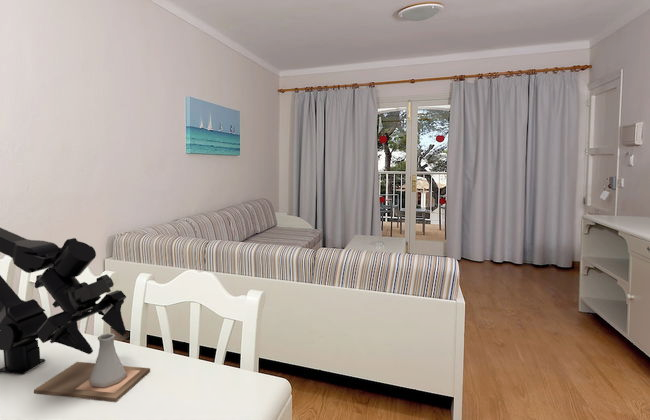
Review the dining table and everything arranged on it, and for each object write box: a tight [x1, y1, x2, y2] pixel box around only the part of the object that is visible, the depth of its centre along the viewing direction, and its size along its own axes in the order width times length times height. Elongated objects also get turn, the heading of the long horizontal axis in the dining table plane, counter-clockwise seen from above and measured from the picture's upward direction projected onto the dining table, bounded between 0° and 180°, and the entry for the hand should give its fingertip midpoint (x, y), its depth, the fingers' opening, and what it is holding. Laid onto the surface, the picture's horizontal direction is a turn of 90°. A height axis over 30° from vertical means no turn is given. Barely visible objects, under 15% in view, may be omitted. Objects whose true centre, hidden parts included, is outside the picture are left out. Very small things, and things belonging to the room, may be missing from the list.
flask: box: [89, 332, 128, 387], centre depth 85 cm, size 7×7×10 cm
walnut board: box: [33, 361, 151, 403], centre depth 86 cm, size 19×12×1 cm, turn 82°
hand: (108, 343), depth 85 cm, fingers open, 9 cm apart
